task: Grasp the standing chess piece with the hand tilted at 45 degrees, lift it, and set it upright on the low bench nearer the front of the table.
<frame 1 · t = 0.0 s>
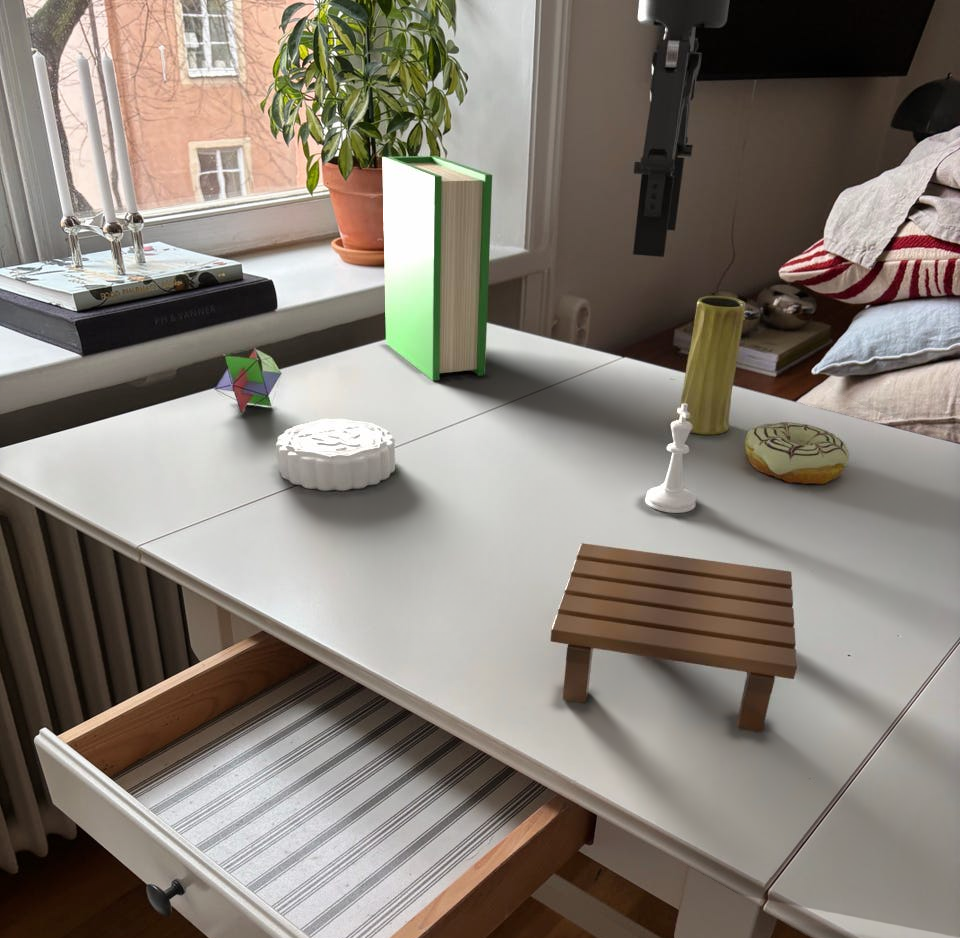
hand: (655, 241, 94), 22 cm above the table, tool pointing down, fingers open, 13 cm apart
decorated donut: (791, 469, 106), on the table
hardback book: (433, 360, 135), on the table
bench: (668, 662, 73), on the table
geometric puzzle: (250, 409, 117), on the table
mooncake: (337, 470, 102), on the table
vase: (701, 427, 116), on the table
chess piece: (669, 504, 98), on the table
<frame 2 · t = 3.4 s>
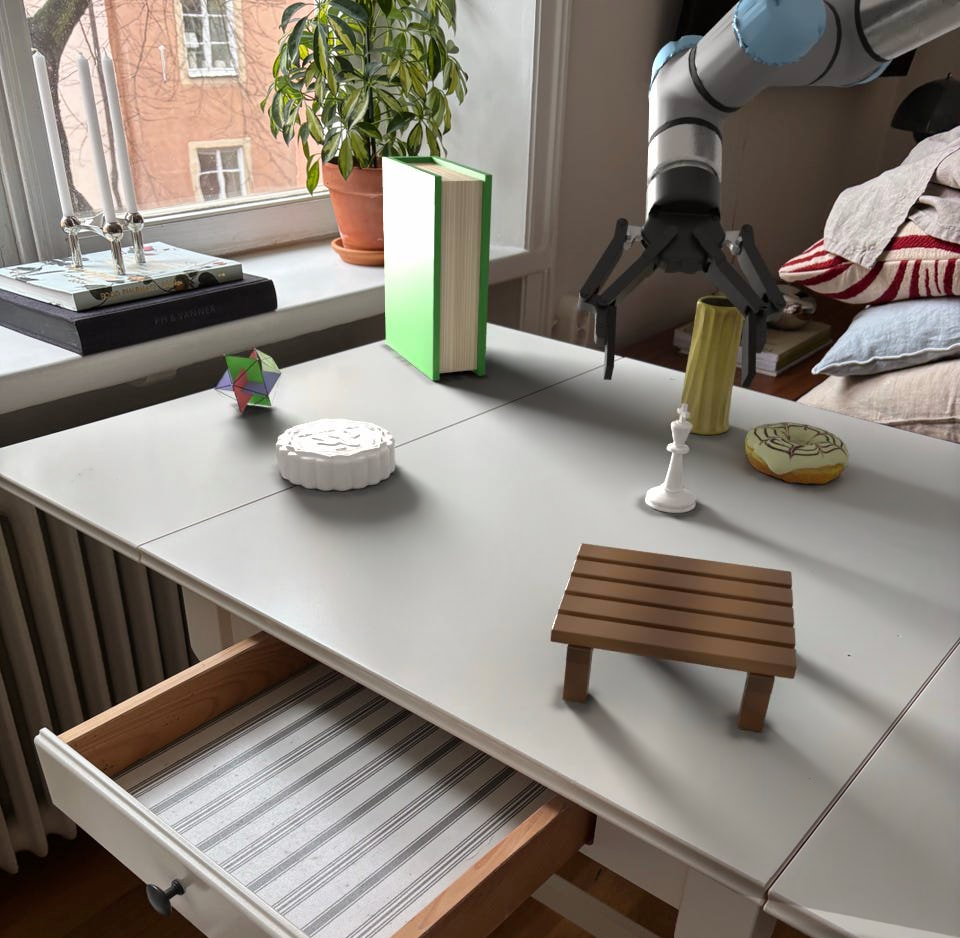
hand: (678, 377, 97), 11 cm above the table, tool tilted 45°, fingers open, 13 cm apart
nothing on the table moved.
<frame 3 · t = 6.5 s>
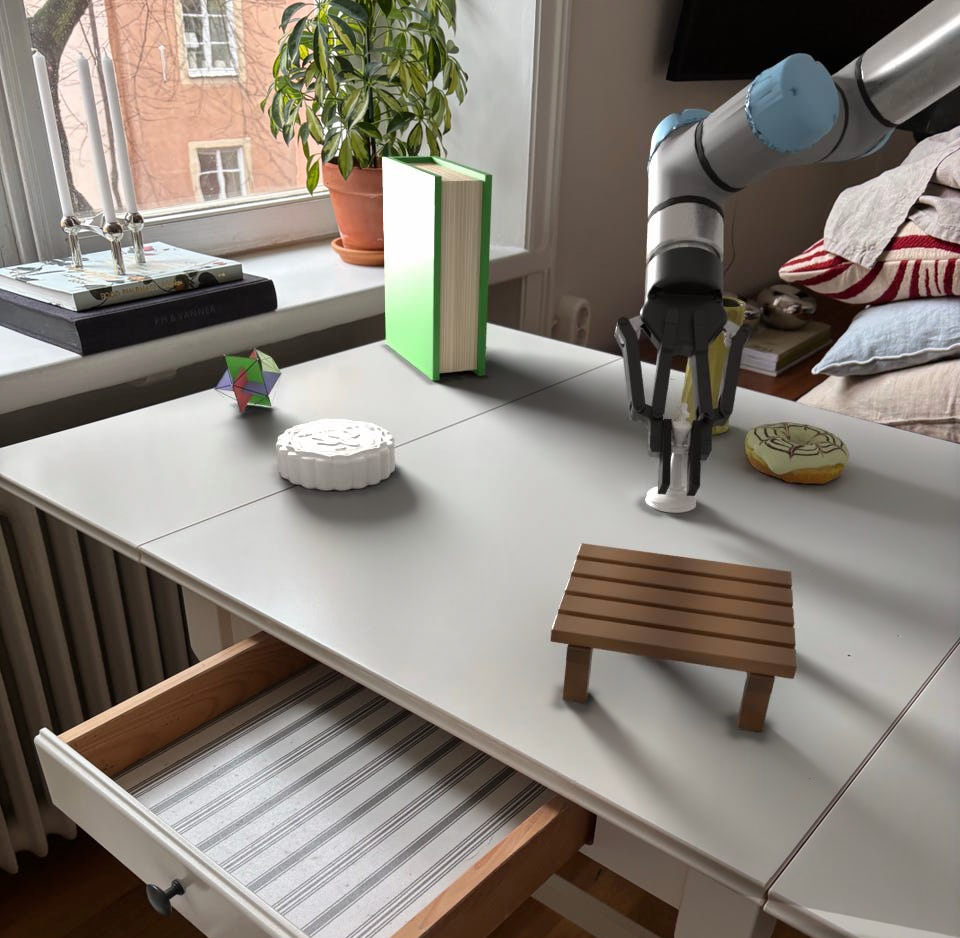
hand: (678, 489, 93), 3 cm above the table, tool tilted 45°, fingers closed on chess piece, 2 cm apart
chess piece: (670, 504, 98), on the table, touching gripper
everything else where it was.
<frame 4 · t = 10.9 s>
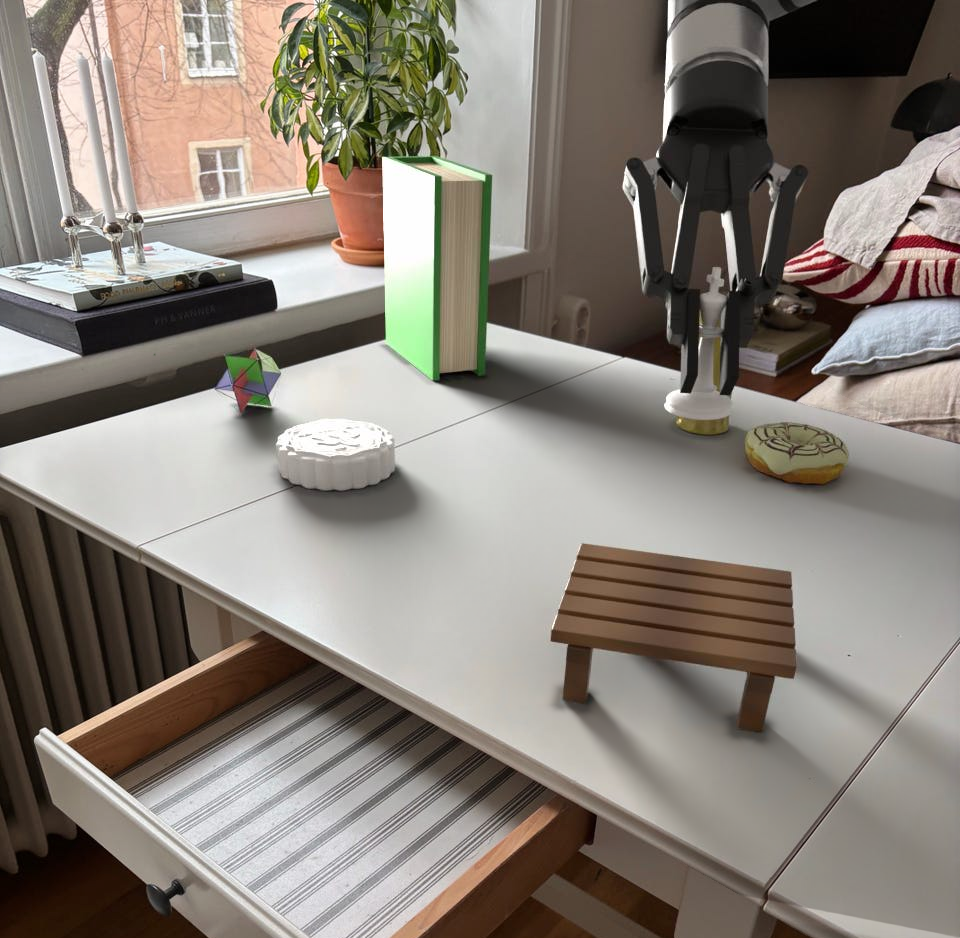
hand: (708, 384, 68), 19 cm above the table, tool tilted 45°, fingers closed on chess piece, 2 cm apart
chess piece: (697, 411, 73), point 16 cm above the table, touching gripper
everything else where it was.
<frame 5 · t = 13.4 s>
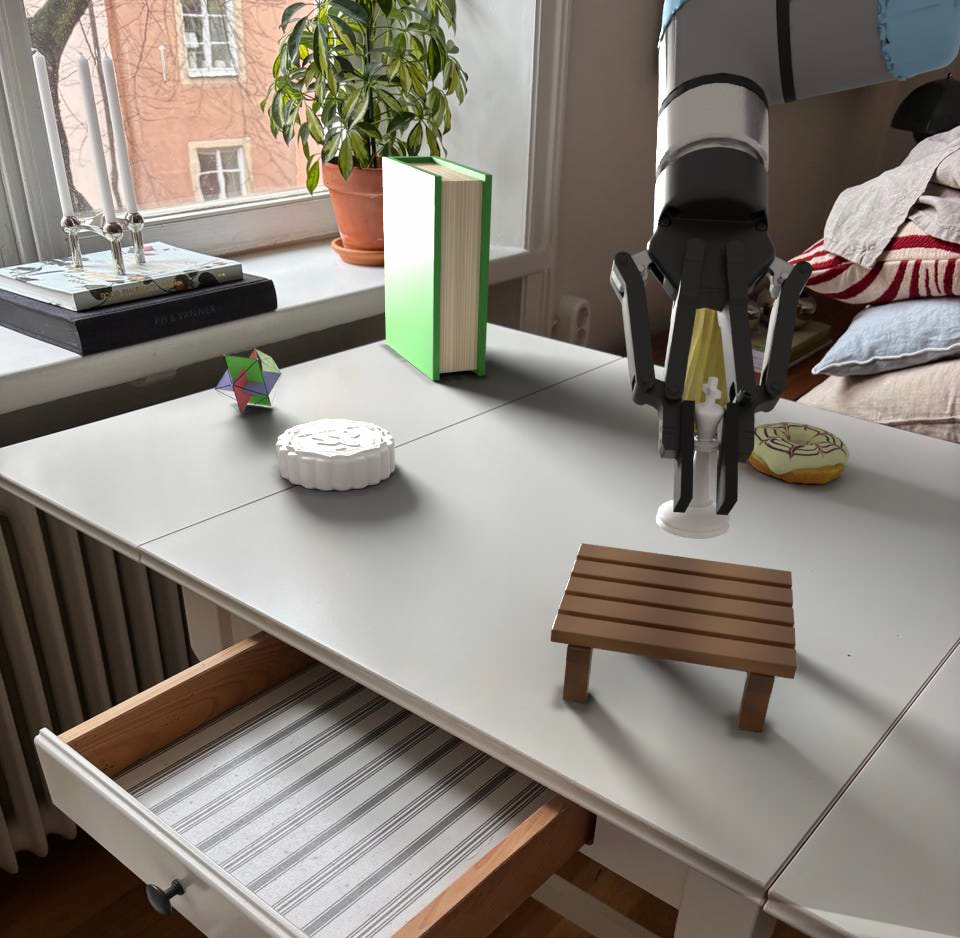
hand: (704, 505, 62), 14 cm above the table, tool tilted 45°, fingers closed on chess piece, 2 cm apart
chess piece: (691, 525, 67), point 11 cm above the table, touching gripper
everything else where it was.
when the fingers open (9 cm above the table, at t = 15.3 s): chess piece stays where it is, resting on bench.
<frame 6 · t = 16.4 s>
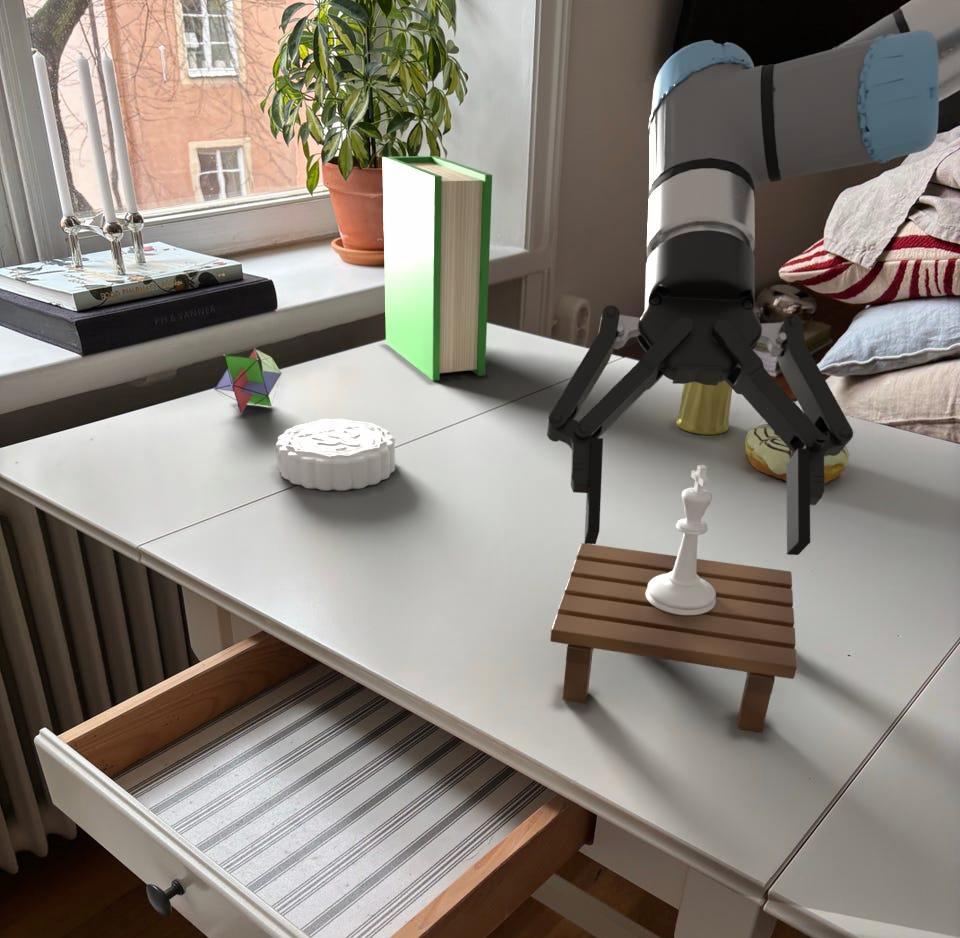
hand: (694, 543, 65), 11 cm above the table, tool tilted 45°, fingers open, 13 cm apart
chess piece: (679, 600, 70), point 5 cm above the table, touching bench
everything else where it was.
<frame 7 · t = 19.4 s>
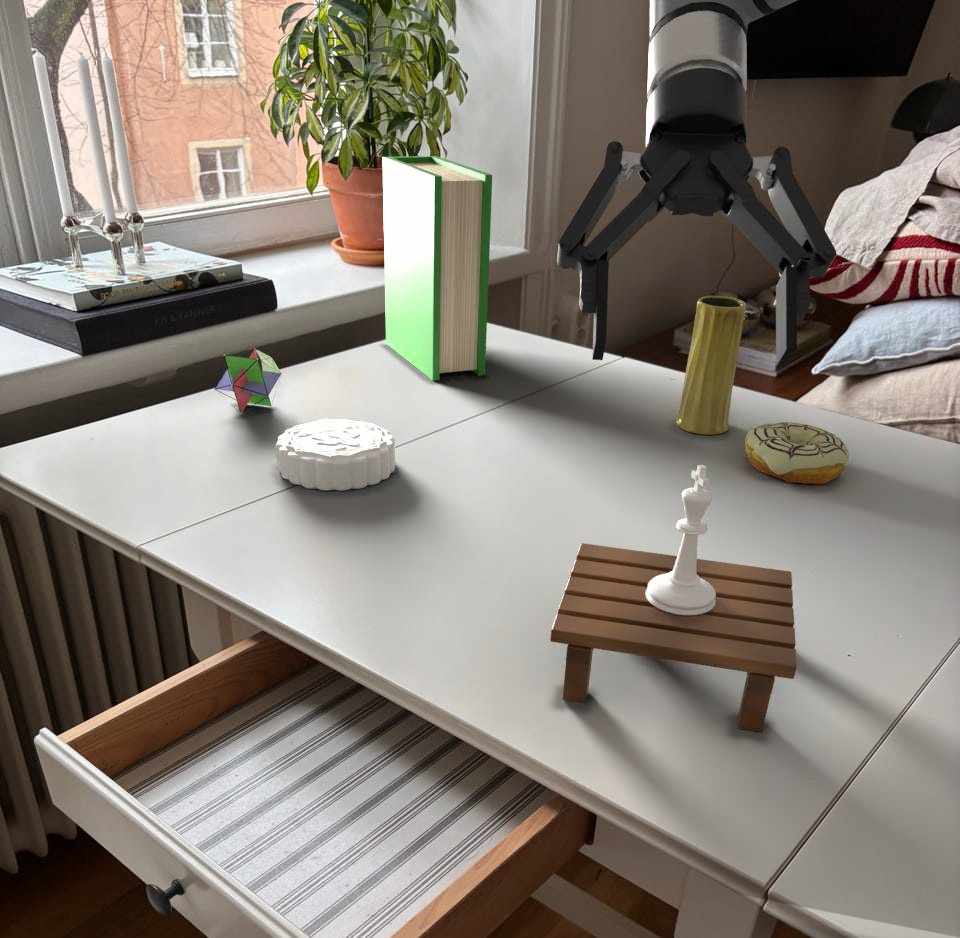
hand: (692, 355, 72), 20 cm above the table, tool tilted 45°, fingers open, 13 cm apart
nothing on the table moved.
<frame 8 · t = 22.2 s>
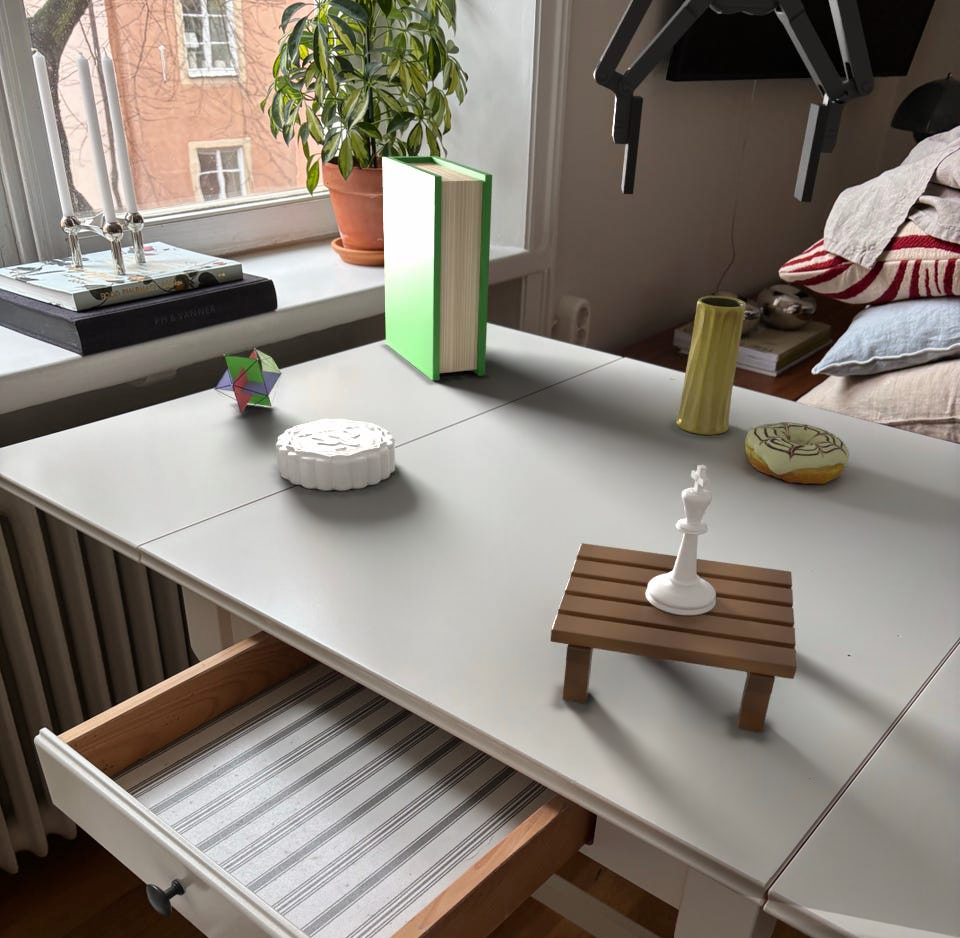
hand: (714, 196, 77), 29 cm above the table, tool pointing down, fingers open, 13 cm apart
nothing on the table moved.
at the end: chess piece inside the target area on the bench (0.1 cm from its centre), point 5.3 cm above the bench's base; chess piece tilted 0°; the gripper is holding nothing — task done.
